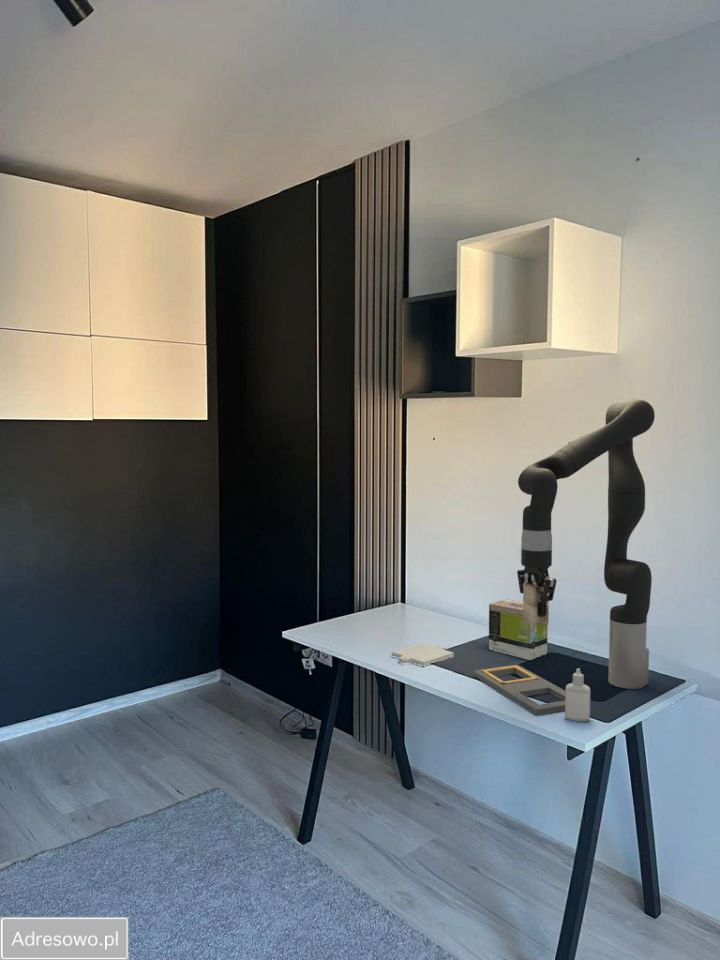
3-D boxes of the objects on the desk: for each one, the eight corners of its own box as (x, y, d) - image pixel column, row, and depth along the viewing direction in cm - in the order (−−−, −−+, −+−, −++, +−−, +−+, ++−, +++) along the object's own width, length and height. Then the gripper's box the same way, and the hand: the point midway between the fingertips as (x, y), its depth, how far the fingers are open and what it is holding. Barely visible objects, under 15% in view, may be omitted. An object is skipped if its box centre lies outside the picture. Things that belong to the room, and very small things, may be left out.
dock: (517, 669, 210) (517, 663, 210) (585, 707, 182) (585, 700, 182) (473, 675, 205) (473, 669, 205) (536, 715, 177) (536, 707, 177)
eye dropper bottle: (582, 724, 172) (583, 674, 171) (561, 717, 176) (562, 668, 175) (593, 719, 175) (594, 669, 174) (572, 712, 179) (573, 664, 178)
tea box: (548, 654, 224) (549, 605, 223) (529, 661, 217) (530, 611, 216) (506, 643, 235) (507, 597, 234) (487, 650, 228) (487, 602, 227)
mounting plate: (417, 670, 211) (417, 664, 211) (385, 660, 220) (385, 653, 220) (459, 657, 223) (459, 650, 223) (426, 647, 232) (426, 641, 232)
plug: (537, 619, 191) (538, 581, 191) (548, 624, 187) (548, 585, 186) (522, 621, 190) (523, 582, 189) (533, 626, 186) (533, 586, 185)
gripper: (566, 550, 182) (565, 619, 183) (532, 542, 195) (531, 606, 196) (540, 552, 179) (539, 622, 180) (508, 543, 192) (507, 609, 194)
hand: (535, 613), depth 188 cm, fingers closed on plug, 4 cm apart
